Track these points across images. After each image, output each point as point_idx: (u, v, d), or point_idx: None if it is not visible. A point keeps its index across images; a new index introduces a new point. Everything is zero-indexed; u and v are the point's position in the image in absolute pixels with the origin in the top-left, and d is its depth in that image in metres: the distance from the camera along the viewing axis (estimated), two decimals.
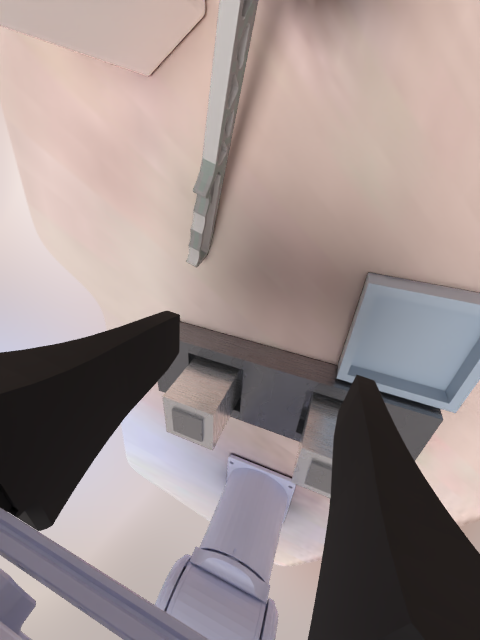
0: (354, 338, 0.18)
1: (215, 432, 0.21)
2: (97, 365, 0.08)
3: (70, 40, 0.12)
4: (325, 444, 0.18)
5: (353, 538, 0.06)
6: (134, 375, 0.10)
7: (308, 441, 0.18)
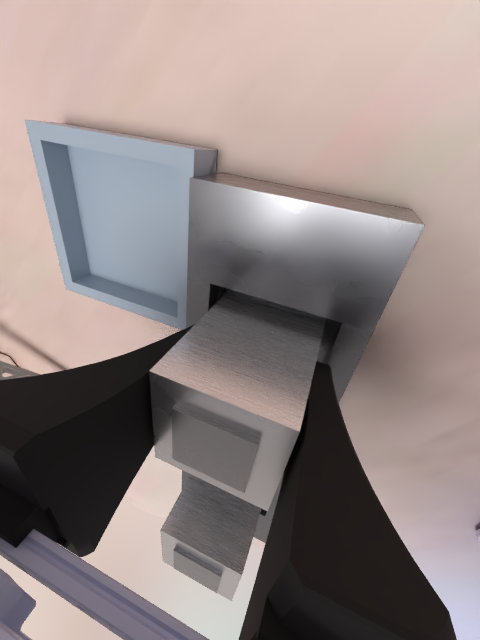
0: (124, 305, 0.14)
1: (213, 545, 0.13)
2: (142, 384, 0.08)
3: None
4: None
5: (284, 505, 0.06)
6: None
7: None
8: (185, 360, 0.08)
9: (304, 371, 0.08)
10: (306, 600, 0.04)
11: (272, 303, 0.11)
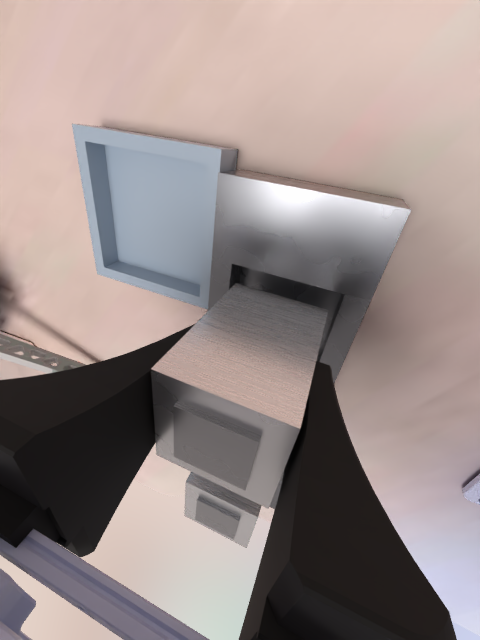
0: (151, 287, 0.16)
1: (232, 494, 0.14)
2: (142, 384, 0.08)
3: None
4: None
5: (284, 505, 0.06)
6: None
7: None
8: (186, 358, 0.08)
9: (304, 369, 0.08)
10: (306, 600, 0.04)
11: (272, 302, 0.11)
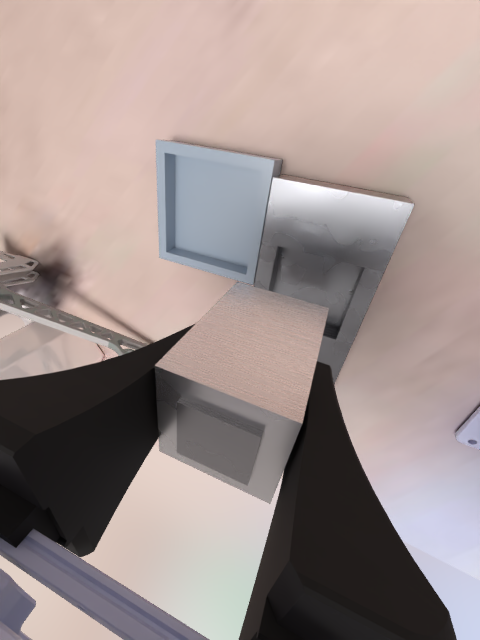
0: (205, 267, 0.20)
1: None
2: (142, 384, 0.08)
3: None
4: None
5: (284, 505, 0.06)
6: None
7: None
8: (189, 355, 0.08)
9: (306, 366, 0.08)
10: (306, 600, 0.04)
11: (274, 300, 0.11)
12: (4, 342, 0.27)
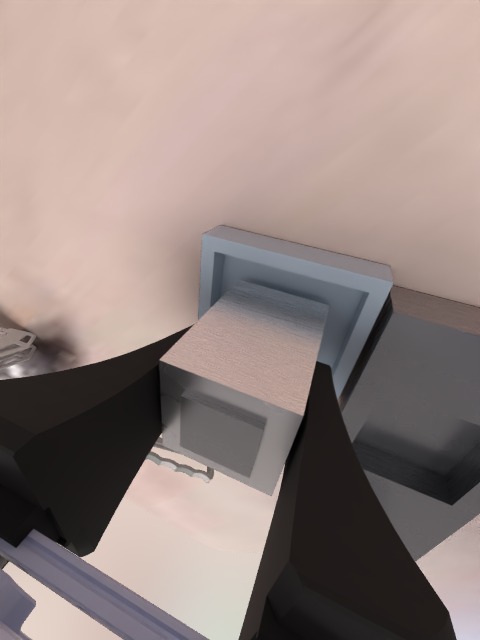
0: None
1: None
2: (142, 384, 0.08)
3: None
4: None
5: (284, 505, 0.06)
6: None
7: None
8: (193, 350, 0.08)
9: (307, 361, 0.08)
10: (305, 600, 0.04)
11: (275, 298, 0.11)
12: None
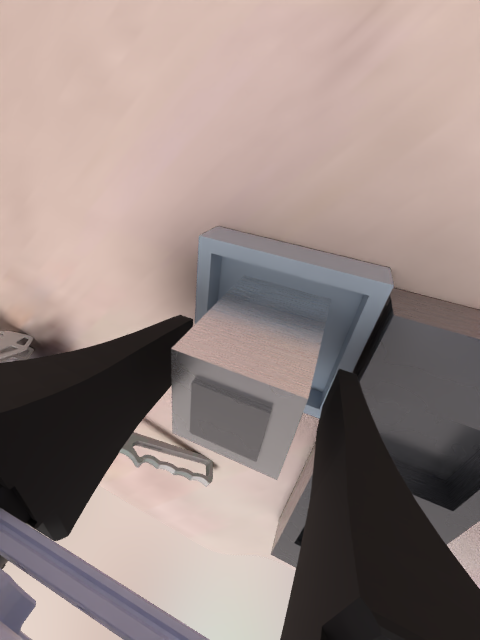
0: None
1: None
2: (115, 372, 0.08)
3: None
4: None
5: (325, 525, 0.06)
6: (149, 381, 0.10)
7: None
8: (202, 340, 0.09)
9: (310, 350, 0.09)
10: None
11: (279, 292, 0.12)
12: None
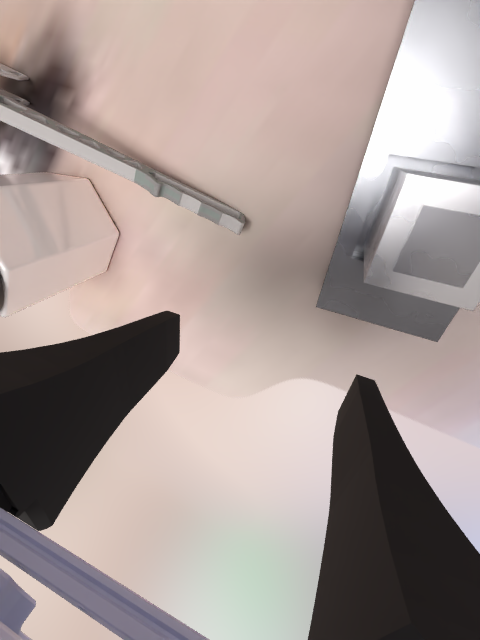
0: None
1: None
2: (97, 365, 0.08)
3: (55, 247, 0.19)
4: None
5: (353, 538, 0.06)
6: (134, 375, 0.10)
7: None
8: None
9: None
10: None
11: None
12: None
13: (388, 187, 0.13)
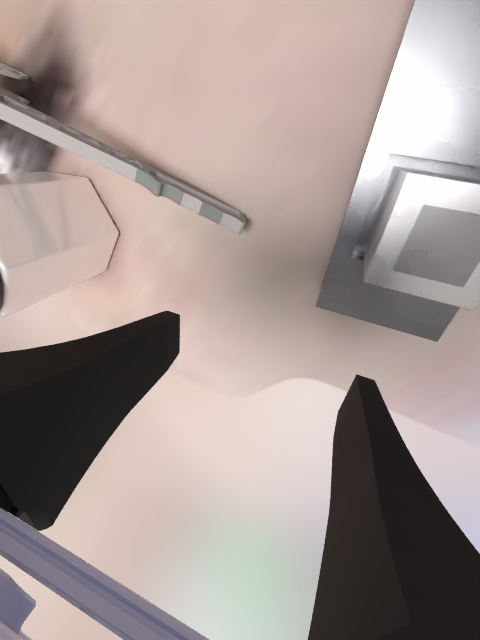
0: None
1: None
2: (97, 365, 0.08)
3: (54, 246, 0.19)
4: None
5: (353, 538, 0.06)
6: (134, 375, 0.10)
7: None
8: None
9: None
10: None
11: None
12: None
13: (388, 186, 0.13)
